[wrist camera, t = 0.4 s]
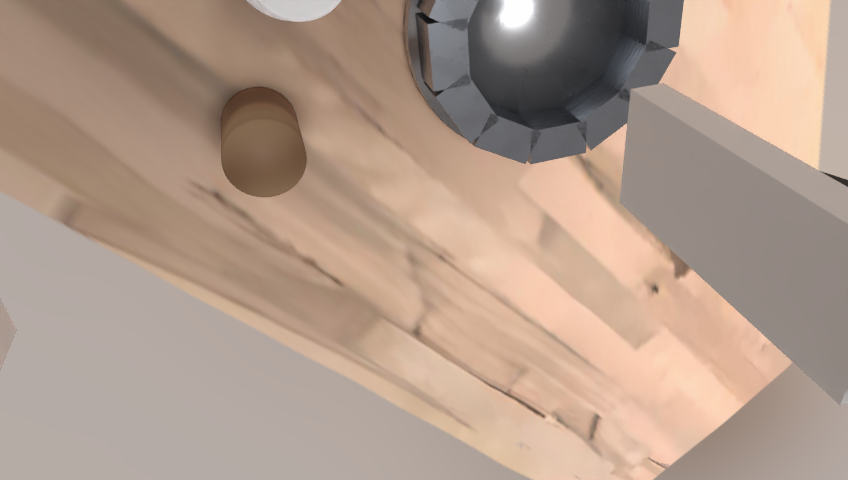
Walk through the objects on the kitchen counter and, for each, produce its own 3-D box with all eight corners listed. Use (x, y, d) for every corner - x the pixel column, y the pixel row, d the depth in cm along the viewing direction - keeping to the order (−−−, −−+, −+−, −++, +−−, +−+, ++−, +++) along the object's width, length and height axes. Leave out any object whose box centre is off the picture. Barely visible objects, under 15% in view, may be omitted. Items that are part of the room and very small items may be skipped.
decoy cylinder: (212, 94, 35) (211, 129, 31) (288, 81, 35) (297, 113, 31) (231, 163, 37) (233, 204, 33) (303, 149, 37) (313, 188, 33)
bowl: (387, -114, 32) (404, -109, 29) (668, -150, 34) (710, -148, 31) (418, 166, 40) (433, 192, 37) (643, 120, 42) (674, 141, 40)
